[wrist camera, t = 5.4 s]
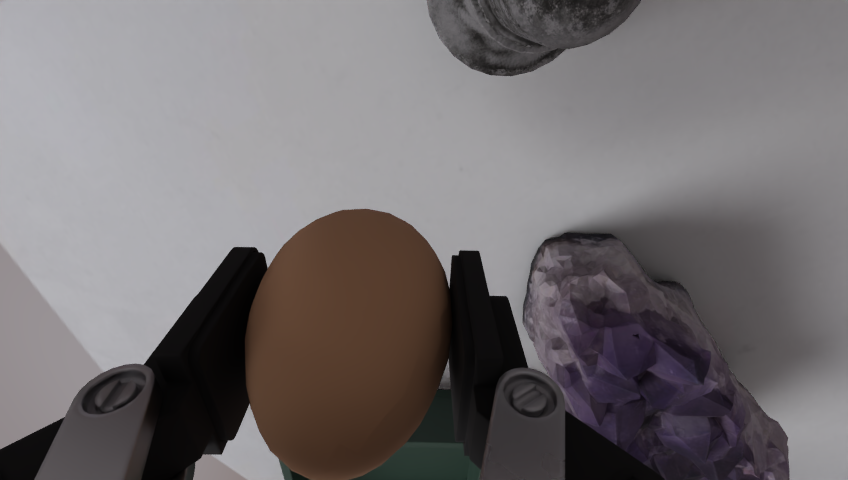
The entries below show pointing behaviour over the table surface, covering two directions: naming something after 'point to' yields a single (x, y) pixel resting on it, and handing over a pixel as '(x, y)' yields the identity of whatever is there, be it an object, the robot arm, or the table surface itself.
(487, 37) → the grey tall stone piece
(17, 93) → the table surface
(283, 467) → the box
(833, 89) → the table surface
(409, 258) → the egg
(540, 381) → the robot arm
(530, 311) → the geode
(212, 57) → the table surface
